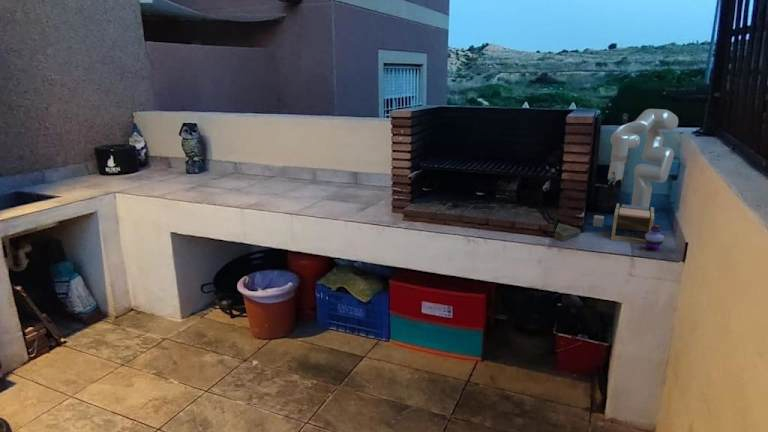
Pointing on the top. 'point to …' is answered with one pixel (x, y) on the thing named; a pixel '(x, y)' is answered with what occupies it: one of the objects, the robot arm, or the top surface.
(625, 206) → the trapdoor
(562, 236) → the marble piece
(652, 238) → the potion bottle
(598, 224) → the cube
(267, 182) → the top surface
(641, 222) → the frame
